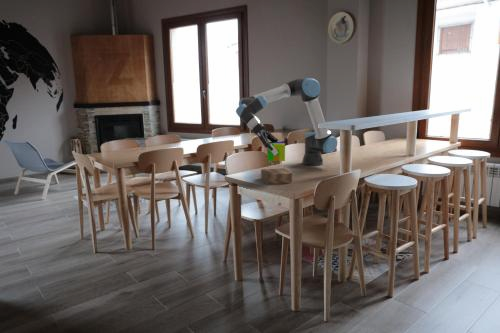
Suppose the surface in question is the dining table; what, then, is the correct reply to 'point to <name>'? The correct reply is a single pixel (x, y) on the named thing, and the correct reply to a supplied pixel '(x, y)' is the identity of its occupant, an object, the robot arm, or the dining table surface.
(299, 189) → the dining table surface
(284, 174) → the walnut block
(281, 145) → the puzzle toy
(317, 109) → the robot arm
